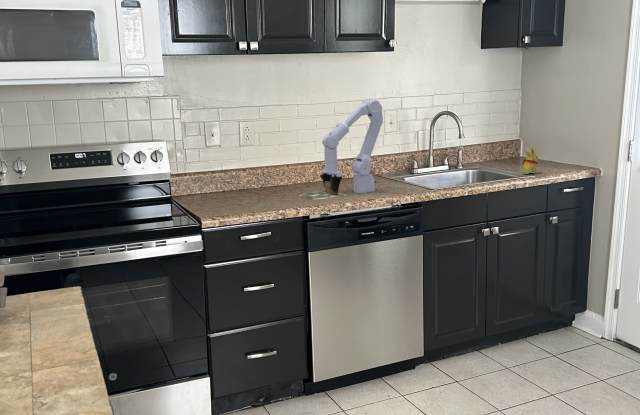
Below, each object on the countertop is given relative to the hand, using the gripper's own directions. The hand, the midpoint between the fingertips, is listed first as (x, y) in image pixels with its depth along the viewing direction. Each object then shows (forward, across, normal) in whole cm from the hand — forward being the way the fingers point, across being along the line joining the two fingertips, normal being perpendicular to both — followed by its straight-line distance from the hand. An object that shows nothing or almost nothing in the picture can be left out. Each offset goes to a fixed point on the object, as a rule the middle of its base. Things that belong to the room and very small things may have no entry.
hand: (331, 190), depth 295 cm
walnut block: (+2, 0, 0) cm, 2 cm away
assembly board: (+3, 0, -4) cm, 5 cm away
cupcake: (+3, -22, +35) cm, 41 cm away
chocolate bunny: (+2, +11, +117) cm, 117 cm away
